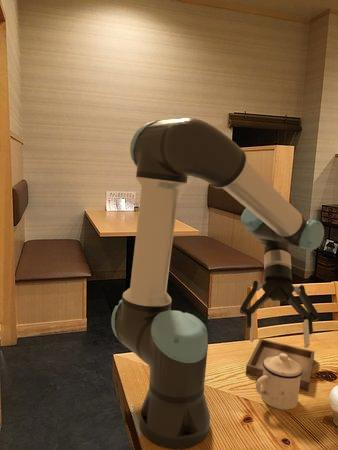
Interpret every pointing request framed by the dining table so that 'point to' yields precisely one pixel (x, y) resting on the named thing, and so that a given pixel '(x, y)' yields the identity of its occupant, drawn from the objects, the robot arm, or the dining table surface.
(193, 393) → the robot arm
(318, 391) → the dining table surface
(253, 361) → the walnut tray
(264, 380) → the teacup with lid
